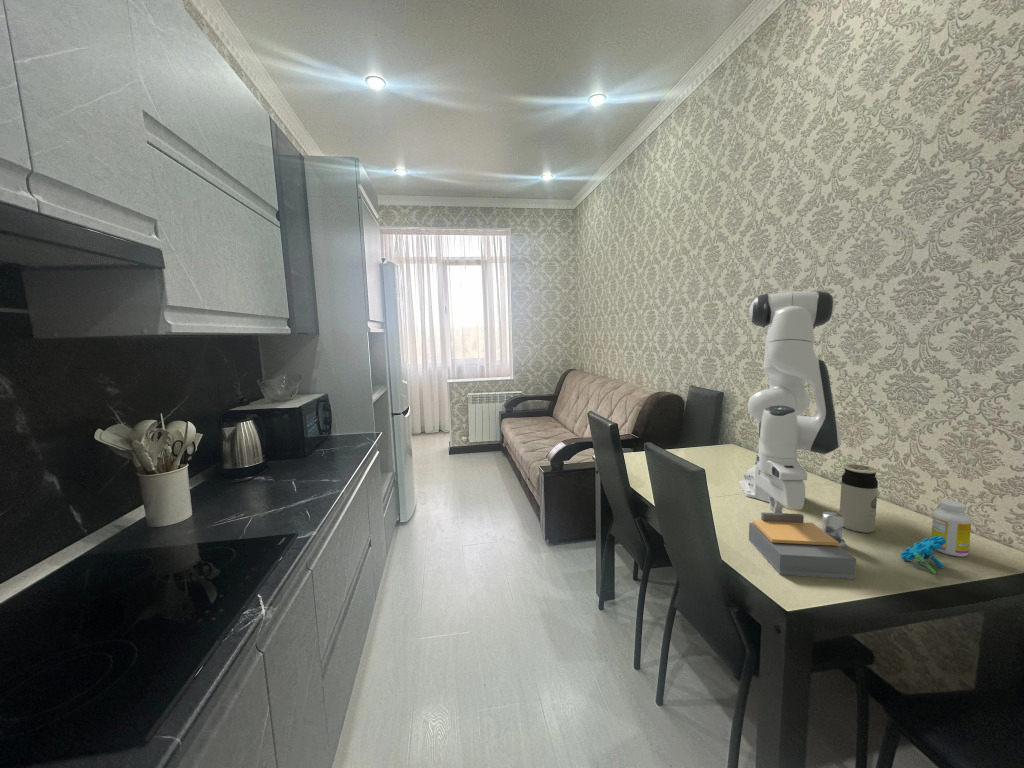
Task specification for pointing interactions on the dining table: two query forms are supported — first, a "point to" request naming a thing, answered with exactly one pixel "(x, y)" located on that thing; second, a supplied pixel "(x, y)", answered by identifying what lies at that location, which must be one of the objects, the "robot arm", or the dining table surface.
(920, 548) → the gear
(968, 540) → the supplement bottle
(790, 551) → the housing
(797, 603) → the dining table surface
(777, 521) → the lid
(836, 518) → the silver rounded cylinder
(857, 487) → the travel mug
